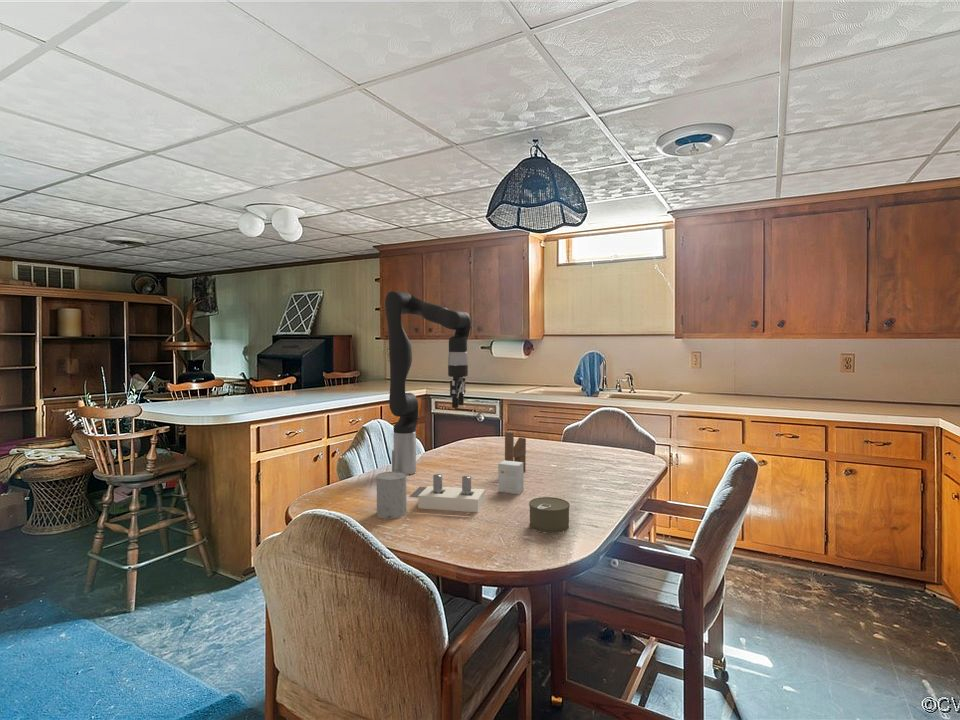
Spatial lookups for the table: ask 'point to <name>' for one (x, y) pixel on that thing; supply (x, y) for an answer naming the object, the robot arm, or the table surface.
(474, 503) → the bore block
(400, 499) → the grey concrete cylinder
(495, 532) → the table surface
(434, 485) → the steel pin
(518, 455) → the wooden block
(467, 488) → the seated pin
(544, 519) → the can
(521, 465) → the small box
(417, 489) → the mat
